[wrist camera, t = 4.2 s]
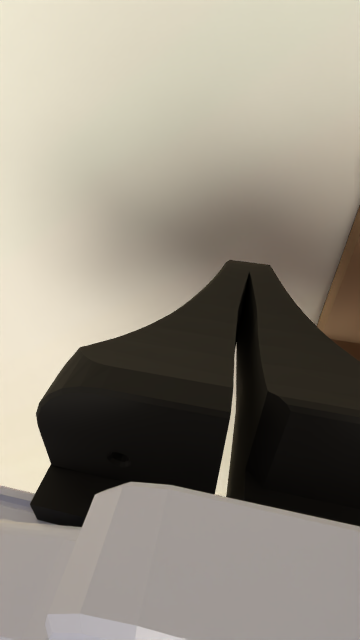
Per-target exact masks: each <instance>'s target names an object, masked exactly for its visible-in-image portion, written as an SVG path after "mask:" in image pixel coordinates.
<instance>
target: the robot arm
mask: <svg viewBox="0 0 360 640" xmlns="http://www.w3.org/2000/svg"><path fill="white" fill-rule="evenodd" d="M236 342H237V361H236V415H235V424H234V434H233V443H232V452H231V461H230V469H229V478H228V487H227V495H226V497H223V496H219V495H214V494H215V490H216V485H217V480H218V475H219V470H220V465H221V460H222V455H223V450H224V445H225V440H226V435H227V430H228V425H229V420H230V414H231V405H232V396H233V376H234V354H235V346H236ZM36 417H37V423H38V427H39V430H40V433H41V436H42V439H43V442H44V444H45V447H46V450H47V453H48V456H49V459H50V462H51V465H50V467H49V469H48V471H47V473H46V475H45V477H44V478H43V480H42V482H41V484H40V486H39V488H38V490H37V491H36V493H35V494H34V493H30V492H26V491H22V490H17V489H13V488H9V487H5V486H1V485H0V640H360V361H359V360H357V359H356V358H354V357H353V356H352V355H350V354H349V353H348V352H346V351H345V350H344V349H342V348H341V347H340V346H338V345H337V344H336V343H335V342H333V341H332V340H331V339H330V338H329V337H327V336H326V335H325V334H324V333H323V332H322V331H321V330H320V329H319V328H318V327H317V326H316V325H315V324H314V323H313V322H312V321H311V320H310V319H309V318H308V317H307V316H306V315H305V314H304V313H303V312H302V310H301V309H300V308H299V307H298V306H297V305H296V303H295V302H294V301H293V299H292V298H291V297H290V295H289V294H288V293H287V291H286V290H285V288H284V287H283V285H282V284H281V282H280V281H279V279H278V277H277V276H276V274H275V272H274V271H273V269H272V268H271V266H270V265H265V264H257V263H249V262H241V261H233V260H229V261H228V262H226V263H225V265H224V266H223V268H222V269H221V270H220V272H219V273H218V274H217V275H216V276H215V277H214V278H213V280H212V281H211V282H210V283H209V284H208V285H207V286H206V287H205V288H204V289H203V290H201V291H200V292H199V293H198V294H197V295H196V296H194V297H193V298H192V299H191V300H190V301H189V302H187V303H186V304H185V305H183V306H182V307H180V308H179V309H177V310H176V311H174V312H173V313H171V314H170V315H168V316H166V317H164V318H162V319H160V320H158V321H156V322H154V323H152V324H150V325H148V326H146V327H144V328H141V329H139V330H136V331H134V332H131V333H128V334H126V335H123V336H120V337H117V338H114V339H110V340H106V341H103V342H99V343H95V344H92V345H88V346H84V347H80V348H79V349H78V350H77V352H76V353H75V354H74V355H73V356H72V357H71V359H70V360H69V361H68V362H67V363H66V365H65V366H64V367H63V369H62V370H61V371H60V373H59V374H58V376H57V377H56V379H55V380H54V382H53V383H52V385H51V386H50V388H49V389H48V391H47V392H46V394H45V395H44V397H43V398H42V400H41V401H40V403H39V406H38V409H37V412H36Z"/></svg>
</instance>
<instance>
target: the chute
mask: <svg viewBox="0 0 360 640" xmlns="http://www.w3.org/2000/svg"><path fill="white" fill-rule="evenodd" d="M317 327H318V328H319V329H320V330H321V331H322V332H323V333H324V334H325V335H326V336H327V337H329V338H330V339H331V340H332V341H333V342H335V343H336V344H337V345H338V346H340V347H341V348H342V349H344V350H345V351H346V352H348V353H349V354H350V355H352V356H353V357H354V358H356V359H357V360H359V361H360V207H359V209H358V212H357V215H356V218H355V221H354V223H353V226H352V229H351V232H350V235H349V237H348V240H347V243H346V246H345V249H344V251H343V254H342V257H341V260H340V263H339V265H338V268H337V271H336V274H335V277H334V279H333V282H332V285H331V288H330V291H329V293H328V296H327V299H326V302H325V305H324V307H323V310H322V313H321V316H320V318H319V321H318V324H317Z"/></svg>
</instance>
